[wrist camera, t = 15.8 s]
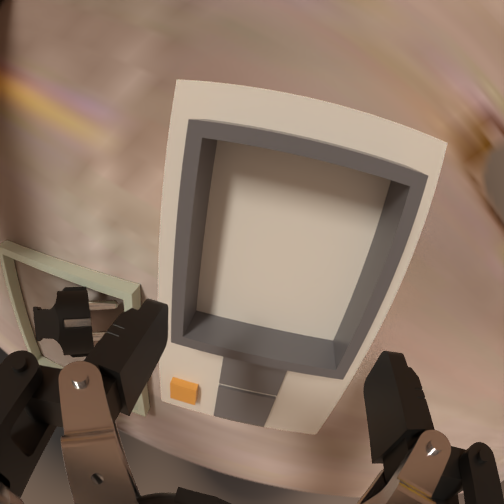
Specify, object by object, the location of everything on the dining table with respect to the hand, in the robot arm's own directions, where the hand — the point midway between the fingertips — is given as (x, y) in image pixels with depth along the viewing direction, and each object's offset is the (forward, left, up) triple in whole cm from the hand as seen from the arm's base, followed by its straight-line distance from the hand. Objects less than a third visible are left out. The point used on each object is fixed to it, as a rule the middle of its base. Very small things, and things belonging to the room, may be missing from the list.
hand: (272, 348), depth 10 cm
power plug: (+15, -20, -12) cm, 27 cm away
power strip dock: (+5, 0, -10) cm, 11 cm away
